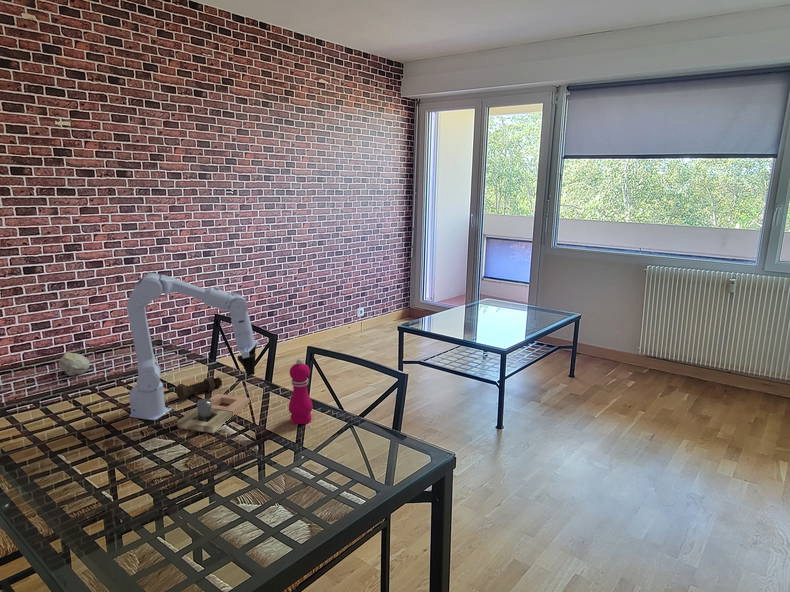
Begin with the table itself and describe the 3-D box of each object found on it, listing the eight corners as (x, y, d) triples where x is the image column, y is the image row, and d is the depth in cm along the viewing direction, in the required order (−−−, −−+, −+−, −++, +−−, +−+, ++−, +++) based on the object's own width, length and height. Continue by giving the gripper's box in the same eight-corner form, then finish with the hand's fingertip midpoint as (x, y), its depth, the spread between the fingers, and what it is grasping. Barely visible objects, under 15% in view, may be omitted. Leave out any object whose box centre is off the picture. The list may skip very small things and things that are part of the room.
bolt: (221, 391, 183) (181, 404, 171) (214, 382, 185) (174, 393, 173) (226, 380, 180) (185, 392, 168) (218, 370, 182) (178, 381, 171)
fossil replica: (83, 366, 200) (55, 376, 192) (77, 345, 197) (49, 355, 190) (98, 370, 193) (70, 381, 185) (92, 350, 190) (63, 359, 183)
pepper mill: (317, 418, 160) (316, 357, 156) (304, 428, 154) (302, 365, 149) (298, 413, 163) (296, 353, 159) (284, 422, 157) (282, 360, 152)
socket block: (199, 412, 163) (198, 406, 162) (217, 399, 172) (217, 393, 172) (233, 417, 160) (232, 411, 159) (249, 403, 169) (249, 398, 169)
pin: (195, 424, 155) (193, 403, 153) (203, 418, 159) (202, 397, 157) (207, 426, 154) (205, 405, 152) (215, 420, 158) (213, 399, 156)
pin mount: (177, 427, 153) (177, 421, 152) (198, 412, 162) (197, 407, 162) (213, 433, 150) (212, 426, 150) (232, 417, 159) (231, 412, 159)
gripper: (254, 336, 160) (263, 376, 164) (256, 322, 173) (264, 359, 177) (231, 341, 158) (240, 381, 162) (235, 326, 172) (243, 363, 176)
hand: (251, 370), depth 170 cm, fingers open, 7 cm apart
